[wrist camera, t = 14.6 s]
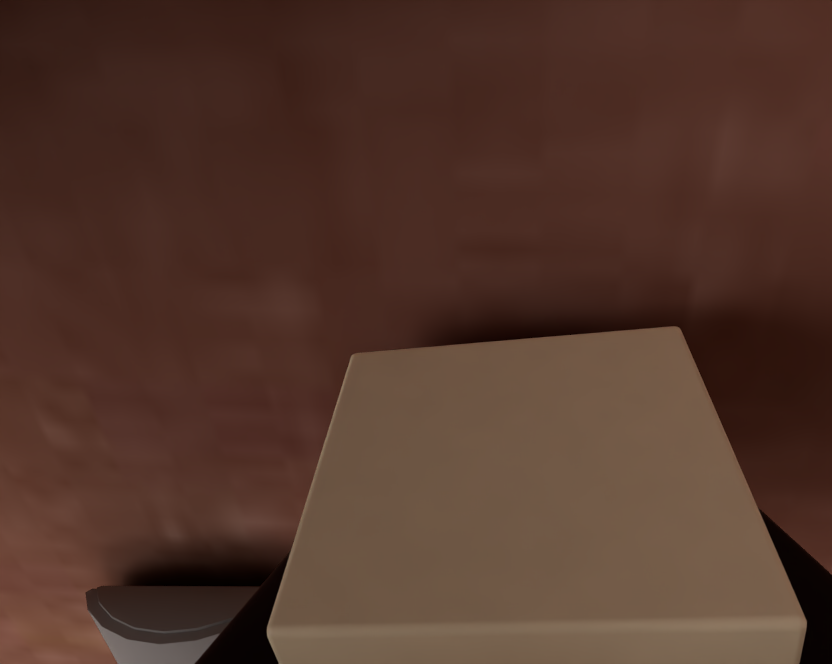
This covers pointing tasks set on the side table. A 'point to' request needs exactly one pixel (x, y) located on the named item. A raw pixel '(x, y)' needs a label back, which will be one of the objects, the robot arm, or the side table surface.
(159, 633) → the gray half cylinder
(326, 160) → the side table surface
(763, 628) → the block
